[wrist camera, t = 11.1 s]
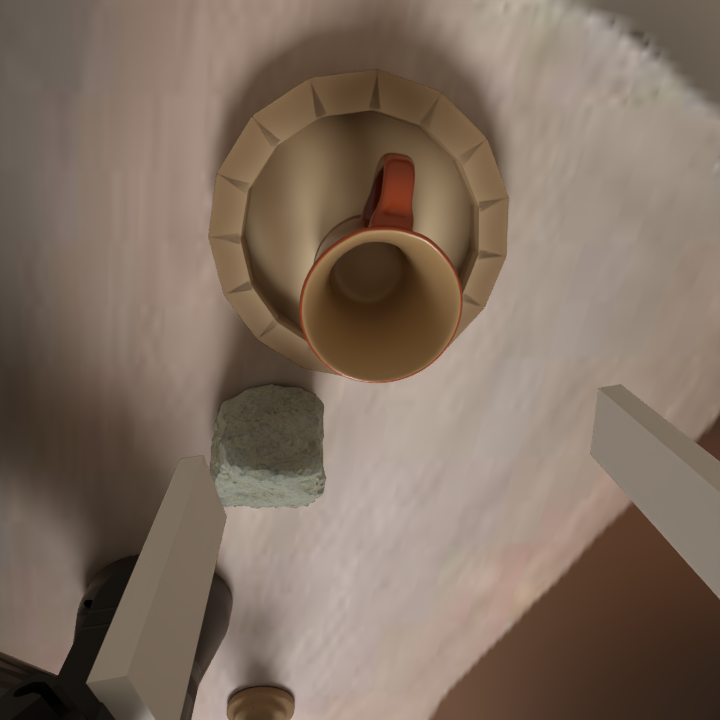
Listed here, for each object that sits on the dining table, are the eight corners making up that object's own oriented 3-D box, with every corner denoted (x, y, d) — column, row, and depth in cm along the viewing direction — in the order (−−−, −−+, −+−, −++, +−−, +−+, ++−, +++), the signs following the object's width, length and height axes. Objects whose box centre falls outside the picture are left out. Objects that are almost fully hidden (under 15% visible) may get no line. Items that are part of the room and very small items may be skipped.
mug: (411, 323, 35) (443, 389, 26) (300, 312, 34) (293, 377, 25) (444, 159, 30) (499, 169, 21) (314, 139, 29) (312, 140, 20)
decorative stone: (260, 335, 35) (171, 429, 29) (375, 409, 35) (308, 520, 29) (246, 408, 46) (178, 489, 40) (335, 466, 45) (280, 557, 39)
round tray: (254, 375, 37) (249, 392, 34) (183, 99, 28) (170, 95, 25) (490, 342, 37) (502, 356, 35) (496, 59, 28) (514, 52, 26)
